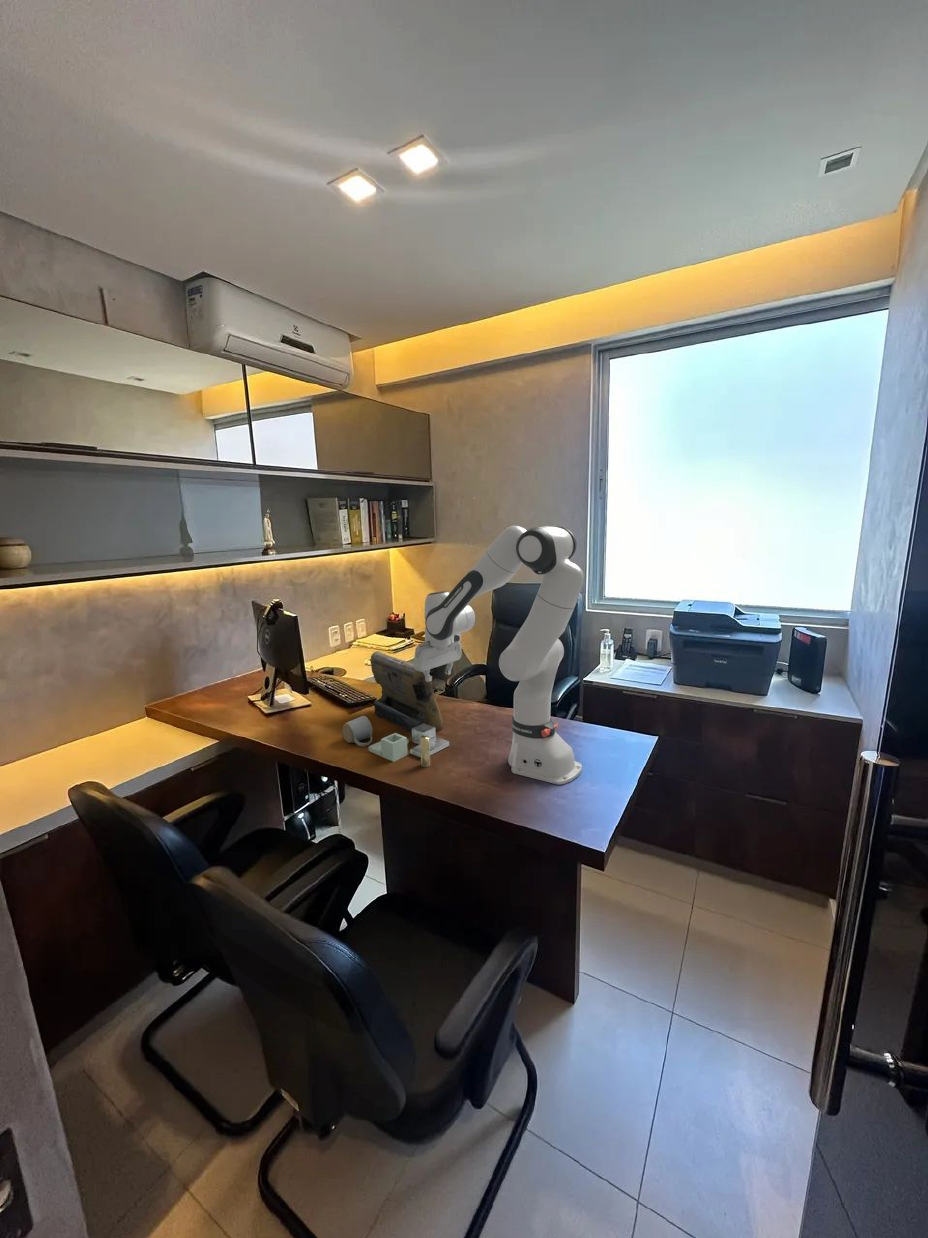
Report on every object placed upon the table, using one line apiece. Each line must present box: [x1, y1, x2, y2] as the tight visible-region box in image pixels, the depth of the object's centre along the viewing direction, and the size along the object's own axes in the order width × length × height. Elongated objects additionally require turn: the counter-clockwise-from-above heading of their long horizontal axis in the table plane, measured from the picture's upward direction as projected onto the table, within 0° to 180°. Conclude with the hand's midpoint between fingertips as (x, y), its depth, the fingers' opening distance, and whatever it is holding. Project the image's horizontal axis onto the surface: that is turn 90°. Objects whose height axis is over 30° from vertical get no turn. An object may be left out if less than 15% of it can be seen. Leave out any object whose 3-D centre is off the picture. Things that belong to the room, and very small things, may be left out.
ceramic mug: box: [341, 715, 373, 747], centre depth 166 cm, size 11×8×8 cm
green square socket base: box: [368, 732, 410, 763], centre depth 160 cm, size 12×12×6 cm
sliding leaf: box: [409, 723, 450, 759], centre depth 161 cm, size 12×12×5 cm
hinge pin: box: [420, 736, 431, 768], centre depth 149 cm, size 3×3×9 cm
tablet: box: [370, 650, 444, 734], centre depth 181 cm, size 33×14×25 cm, turn 46°
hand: (438, 677), depth 168 cm, fingers open, 8 cm apart
